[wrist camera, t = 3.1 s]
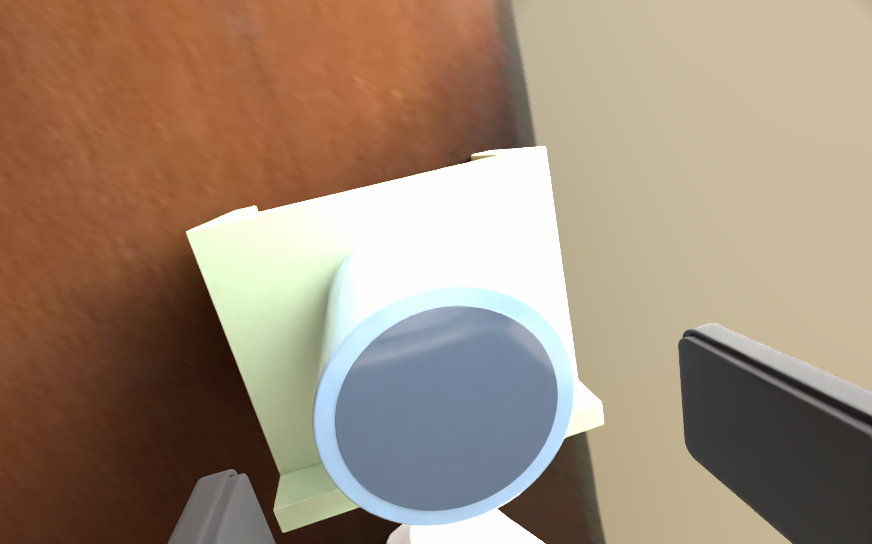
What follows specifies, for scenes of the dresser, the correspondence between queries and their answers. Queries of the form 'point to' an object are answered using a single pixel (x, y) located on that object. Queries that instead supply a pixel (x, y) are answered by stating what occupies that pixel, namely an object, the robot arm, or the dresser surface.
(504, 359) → the cup
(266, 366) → the shelf
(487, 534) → the vase
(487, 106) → the dresser surface
